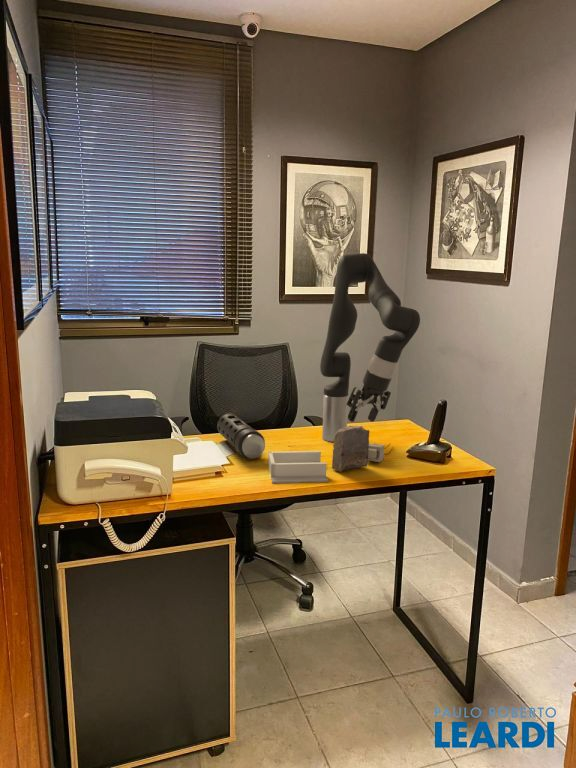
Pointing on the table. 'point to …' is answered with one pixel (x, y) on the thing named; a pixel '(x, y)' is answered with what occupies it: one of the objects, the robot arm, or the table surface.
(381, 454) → the electrical component
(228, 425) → the muzzle brake
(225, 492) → the table surface
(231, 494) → the table surface
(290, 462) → the open rectangular box
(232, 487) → the table surface
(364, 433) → the geological specimen
